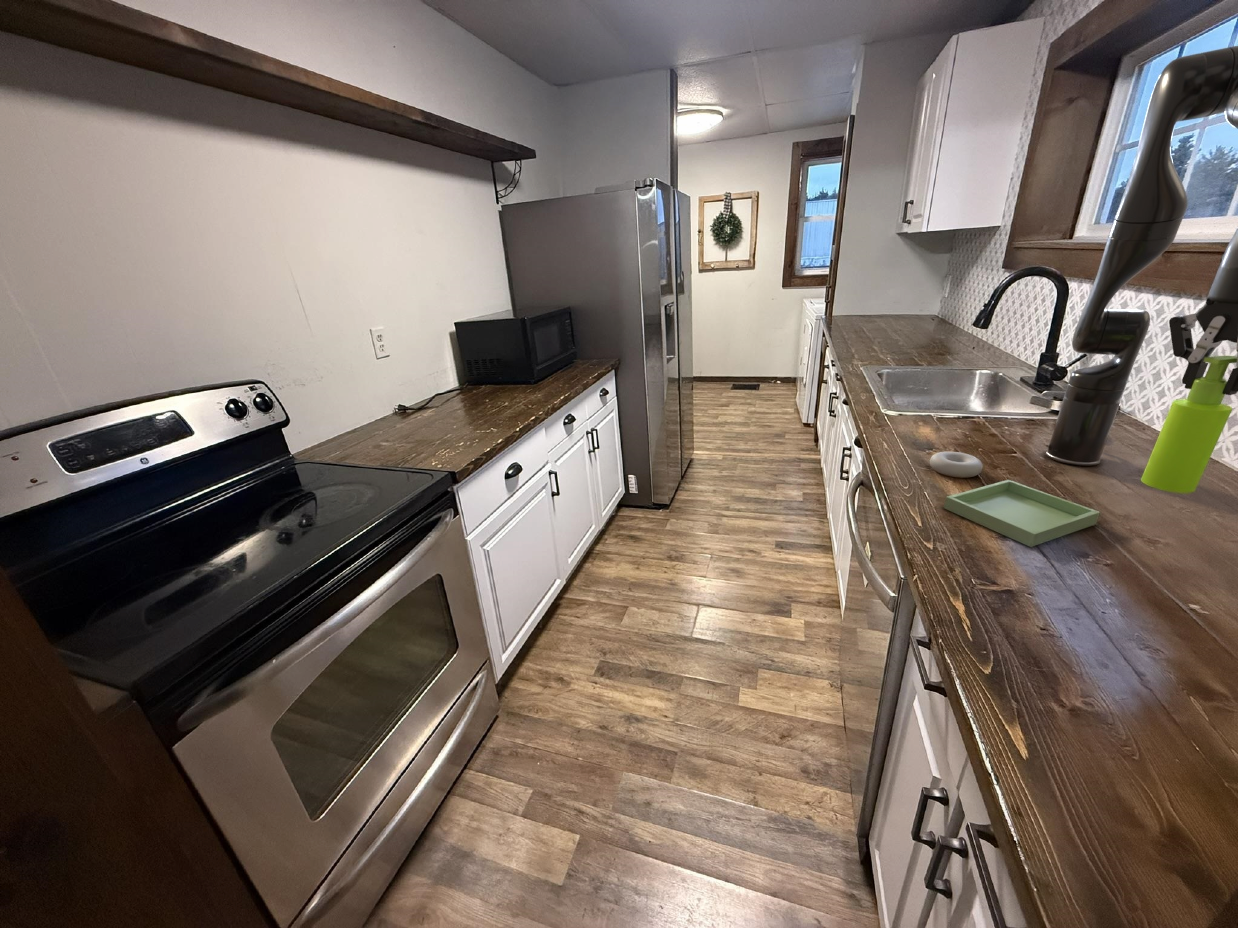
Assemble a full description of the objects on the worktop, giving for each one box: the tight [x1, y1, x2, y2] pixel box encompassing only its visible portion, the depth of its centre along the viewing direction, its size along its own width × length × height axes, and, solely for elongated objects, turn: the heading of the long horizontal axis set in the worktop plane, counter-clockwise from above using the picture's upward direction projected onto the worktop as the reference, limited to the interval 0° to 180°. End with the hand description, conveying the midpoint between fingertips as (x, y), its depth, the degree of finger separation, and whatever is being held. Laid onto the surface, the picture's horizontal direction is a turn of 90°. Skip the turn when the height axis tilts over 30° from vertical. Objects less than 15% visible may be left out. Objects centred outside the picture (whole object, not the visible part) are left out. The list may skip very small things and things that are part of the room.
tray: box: [943, 479, 1101, 548], centre depth 92 cm, size 18×16×2 cm
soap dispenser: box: [1140, 355, 1237, 494], centre depth 74 cm, size 6×7×20 cm
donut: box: [929, 450, 984, 479], centre depth 111 cm, size 10×4×10 cm
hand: (1209, 390), depth 72 cm, fingers closed on soap dispenser, 3 cm apart
